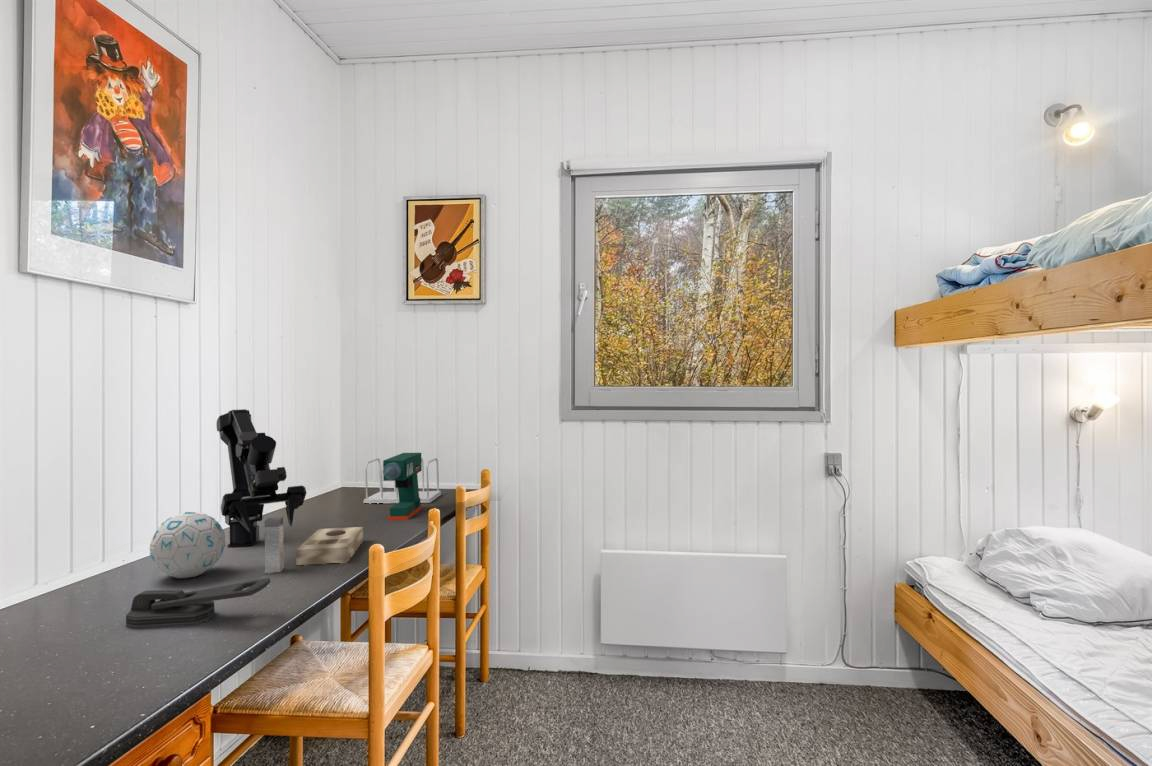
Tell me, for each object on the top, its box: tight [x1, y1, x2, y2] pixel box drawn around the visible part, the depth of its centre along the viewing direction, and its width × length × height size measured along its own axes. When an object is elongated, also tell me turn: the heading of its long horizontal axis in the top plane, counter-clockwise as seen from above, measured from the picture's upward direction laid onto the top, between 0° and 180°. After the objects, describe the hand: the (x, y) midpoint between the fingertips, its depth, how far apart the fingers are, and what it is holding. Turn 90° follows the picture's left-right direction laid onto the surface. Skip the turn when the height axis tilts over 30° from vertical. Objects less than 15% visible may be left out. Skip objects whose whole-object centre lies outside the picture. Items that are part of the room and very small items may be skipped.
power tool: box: [382, 452, 423, 521], centre depth 206 cm, size 32×7×20 cm, turn 179°
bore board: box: [295, 526, 364, 565], centre depth 165 cm, size 12×22×4 cm, turn 9°
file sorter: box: [363, 457, 442, 505], centre depth 239 cm, size 25×17×16 cm
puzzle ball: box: [149, 511, 226, 579], centre depth 146 cm, size 15×15×15 cm
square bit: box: [264, 517, 285, 574], centre depth 149 cm, size 3×3×12 cm
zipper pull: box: [125, 577, 271, 629], centre depth 120 cm, size 9×7×25 cm
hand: (271, 527), depth 151 cm, fingers open, 9 cm apart
